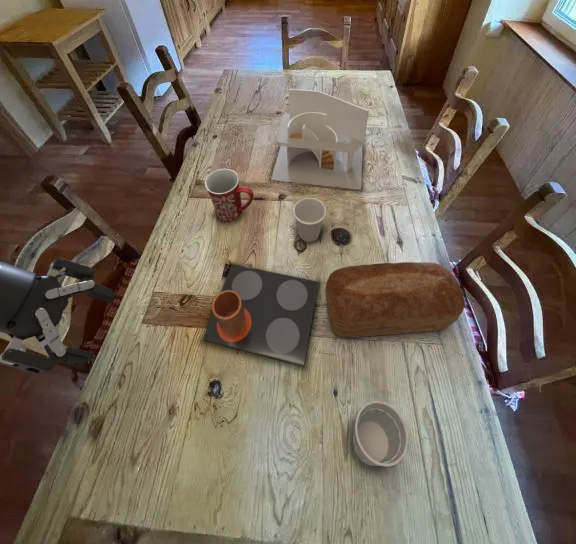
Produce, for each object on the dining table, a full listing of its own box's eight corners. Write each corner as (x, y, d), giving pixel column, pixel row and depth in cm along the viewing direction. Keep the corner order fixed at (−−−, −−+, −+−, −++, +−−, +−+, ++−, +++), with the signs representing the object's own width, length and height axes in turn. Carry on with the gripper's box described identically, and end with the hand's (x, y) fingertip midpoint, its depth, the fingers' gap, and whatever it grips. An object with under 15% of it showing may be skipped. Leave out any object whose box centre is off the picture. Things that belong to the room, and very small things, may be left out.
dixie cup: (315, 215, 97) (316, 193, 90) (330, 238, 91) (332, 216, 84) (288, 226, 94) (287, 204, 87) (302, 250, 89) (302, 228, 82)
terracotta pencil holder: (242, 340, 72) (235, 322, 65) (216, 333, 73) (207, 315, 66) (250, 313, 76) (245, 293, 69) (226, 307, 77) (218, 287, 70)
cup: (338, 441, 61) (344, 430, 53) (366, 404, 65) (376, 388, 57) (375, 486, 57) (387, 482, 48) (402, 443, 61) (418, 433, 52)
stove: (303, 367, 70) (303, 364, 69) (204, 341, 74) (202, 338, 73) (318, 284, 82) (318, 281, 81) (232, 266, 86) (231, 263, 85)
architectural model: (270, 179, 107) (264, 120, 91) (283, 136, 122) (280, 79, 106) (361, 189, 103) (371, 129, 87) (362, 143, 118) (372, 85, 102)
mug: (208, 221, 96) (198, 190, 87) (221, 197, 103) (213, 165, 93) (250, 230, 94) (244, 199, 84) (261, 205, 100) (256, 174, 91)
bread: (320, 290, 81) (323, 259, 71) (436, 281, 82) (455, 249, 72) (328, 344, 73) (332, 318, 63) (457, 334, 73) (482, 306, 63)
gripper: (-53, 342, 36) (95, 375, 44) (22, 231, 47) (131, 274, 55) (-70, 359, 40) (70, 386, 48) (3, 252, 50) (108, 289, 58)
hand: (102, 326), depth 51 cm, fingers open, 8 cm apart
